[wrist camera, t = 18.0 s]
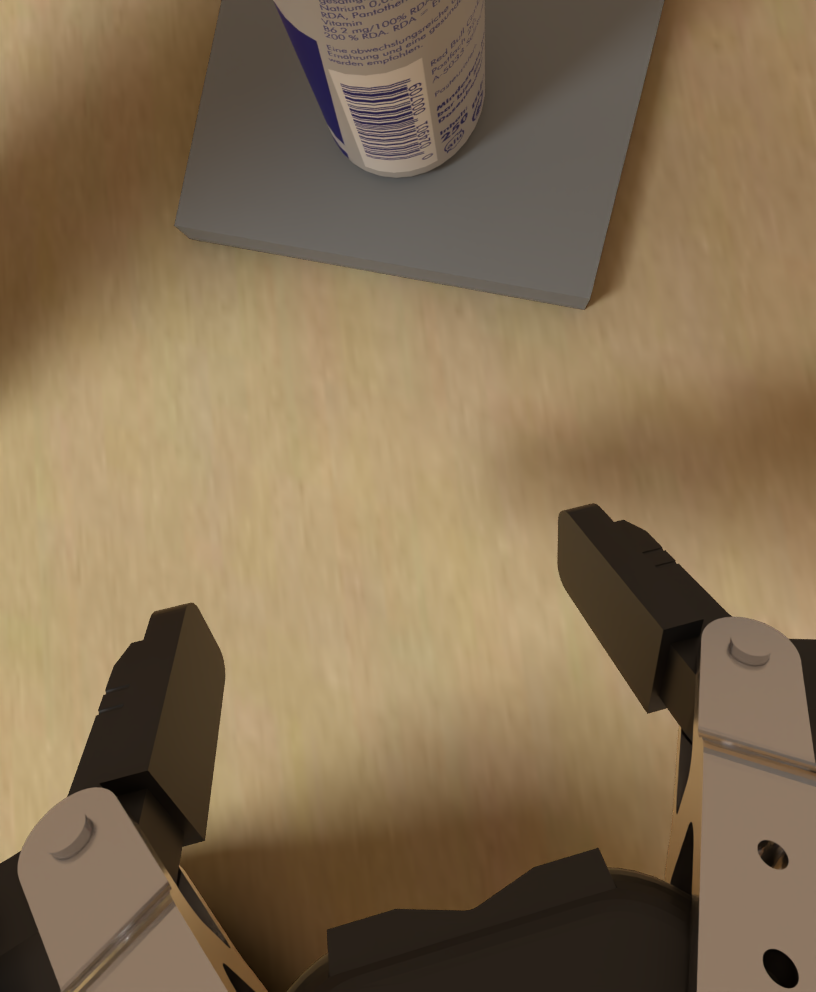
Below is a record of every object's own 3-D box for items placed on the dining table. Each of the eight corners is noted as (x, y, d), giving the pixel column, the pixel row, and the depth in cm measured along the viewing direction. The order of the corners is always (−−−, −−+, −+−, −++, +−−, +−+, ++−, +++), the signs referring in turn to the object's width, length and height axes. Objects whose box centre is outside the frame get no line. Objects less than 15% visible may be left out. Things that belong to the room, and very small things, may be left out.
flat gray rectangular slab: (189, 238, 20) (174, 225, 19) (251, -54, 19) (239, -83, 18) (584, 309, 18) (590, 298, 17) (665, -19, 17) (676, -50, 16)
